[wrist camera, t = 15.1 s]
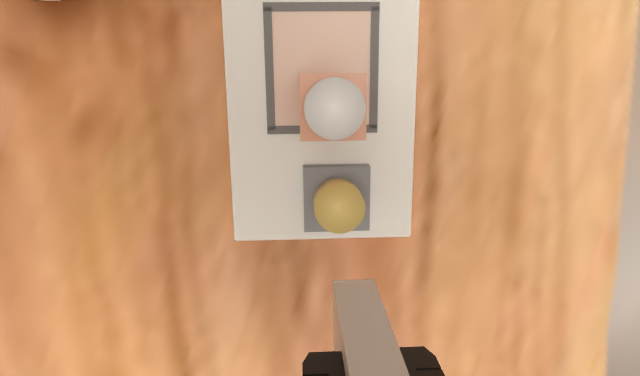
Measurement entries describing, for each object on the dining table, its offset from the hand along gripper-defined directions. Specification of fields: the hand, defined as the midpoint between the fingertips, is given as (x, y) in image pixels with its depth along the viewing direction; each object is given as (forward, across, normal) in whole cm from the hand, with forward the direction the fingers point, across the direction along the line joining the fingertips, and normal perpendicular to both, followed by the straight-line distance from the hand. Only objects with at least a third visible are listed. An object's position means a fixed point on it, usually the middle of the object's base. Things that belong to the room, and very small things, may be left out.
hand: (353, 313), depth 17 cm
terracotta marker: (+20, 0, +7) cm, 21 cm away
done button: (+18, +1, -1) cm, 18 cm away
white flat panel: (+21, 0, +10) cm, 23 cm away
